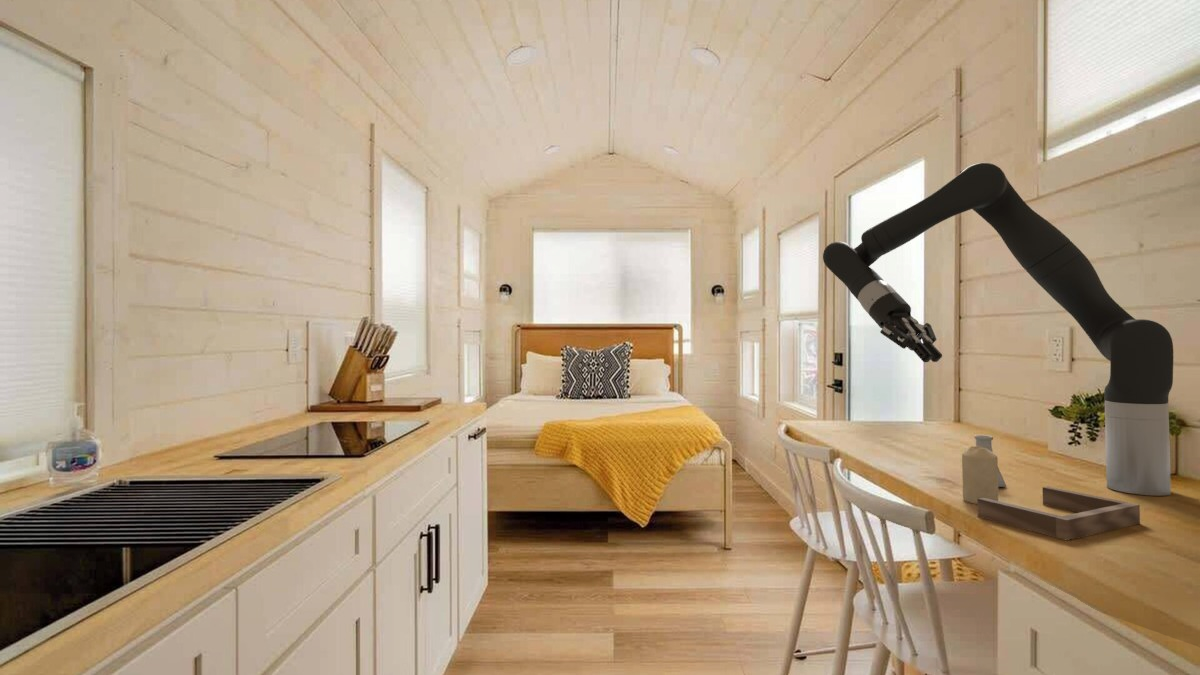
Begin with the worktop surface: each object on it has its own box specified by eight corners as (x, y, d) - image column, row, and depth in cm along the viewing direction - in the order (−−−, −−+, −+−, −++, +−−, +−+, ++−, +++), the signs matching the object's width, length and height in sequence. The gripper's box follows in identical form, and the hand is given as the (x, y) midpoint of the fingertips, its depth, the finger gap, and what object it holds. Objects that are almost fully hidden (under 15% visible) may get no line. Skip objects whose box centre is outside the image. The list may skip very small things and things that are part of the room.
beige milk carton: (1004, 506, 105) (1003, 450, 105) (970, 504, 106) (969, 449, 106) (990, 498, 110) (989, 444, 111) (958, 496, 112) (956, 444, 112)
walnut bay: (1048, 502, 106) (1047, 486, 107) (1139, 523, 94) (1139, 504, 94) (977, 516, 99) (977, 498, 99) (1067, 540, 87) (1067, 520, 87)
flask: (956, 480, 125) (955, 433, 125) (991, 480, 124) (990, 433, 124) (977, 489, 117) (976, 439, 117) (1014, 488, 117) (1013, 438, 117)
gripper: (869, 290, 127) (921, 347, 116) (915, 292, 133) (968, 346, 121) (851, 316, 132) (899, 372, 121) (895, 316, 138) (945, 370, 126)
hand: (933, 359), depth 121 cm, fingers closed
